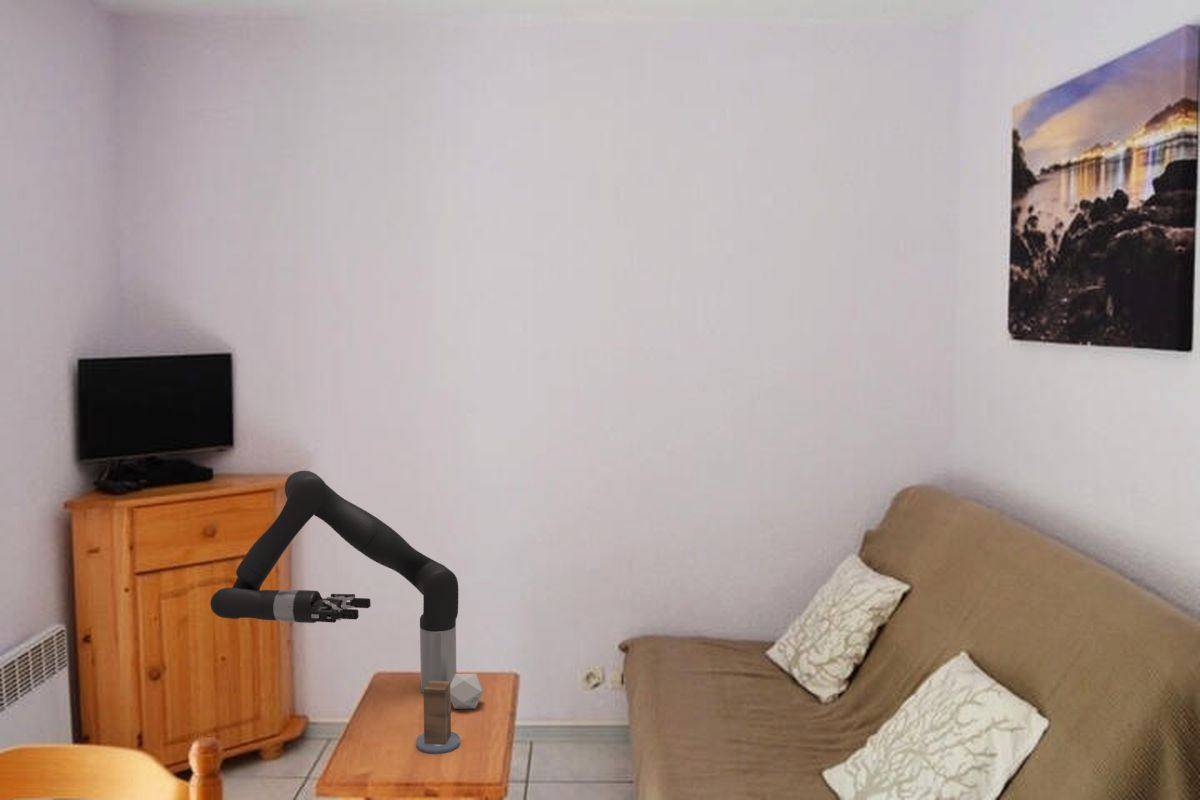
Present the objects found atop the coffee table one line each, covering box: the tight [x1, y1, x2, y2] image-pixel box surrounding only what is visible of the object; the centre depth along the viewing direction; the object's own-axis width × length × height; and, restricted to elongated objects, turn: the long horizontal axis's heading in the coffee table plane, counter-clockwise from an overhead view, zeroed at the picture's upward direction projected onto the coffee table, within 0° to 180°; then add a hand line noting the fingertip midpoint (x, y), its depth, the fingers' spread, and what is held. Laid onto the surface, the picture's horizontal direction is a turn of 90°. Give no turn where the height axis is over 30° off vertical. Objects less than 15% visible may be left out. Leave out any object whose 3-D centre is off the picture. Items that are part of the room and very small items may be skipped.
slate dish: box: [415, 731, 461, 755], centre depth 253 cm, size 10×10×1 cm
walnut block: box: [423, 681, 452, 744], centre depth 252 cm, size 5×5×13 cm
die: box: [450, 673, 484, 710], centre depth 274 cm, size 8×9×10 cm
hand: (364, 608), depth 256 cm, fingers open, 8 cm apart
